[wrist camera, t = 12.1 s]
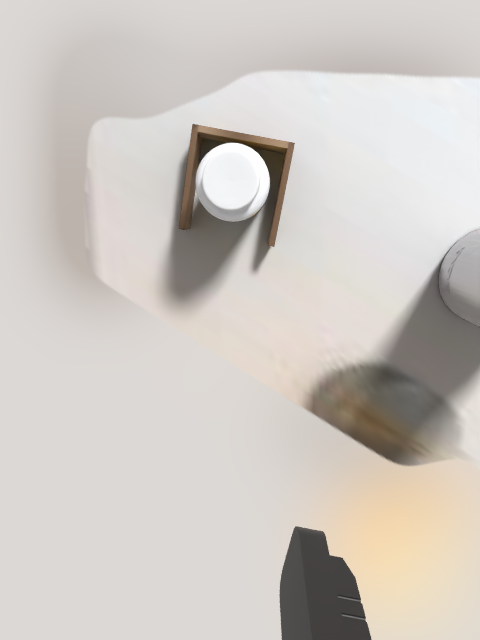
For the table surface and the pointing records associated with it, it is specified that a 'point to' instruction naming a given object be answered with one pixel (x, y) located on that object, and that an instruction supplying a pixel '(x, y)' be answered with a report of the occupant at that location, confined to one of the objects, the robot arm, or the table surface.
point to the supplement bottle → (232, 182)
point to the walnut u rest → (241, 138)
